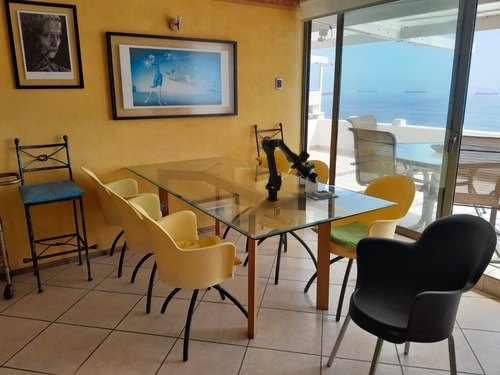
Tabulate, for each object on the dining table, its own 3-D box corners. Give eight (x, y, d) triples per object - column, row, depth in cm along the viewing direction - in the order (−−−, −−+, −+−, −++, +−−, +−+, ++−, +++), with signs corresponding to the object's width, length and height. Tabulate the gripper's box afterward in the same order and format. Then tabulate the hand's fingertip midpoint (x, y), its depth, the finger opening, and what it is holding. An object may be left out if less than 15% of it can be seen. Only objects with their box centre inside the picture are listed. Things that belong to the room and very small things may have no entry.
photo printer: (300, 184, 279) (301, 168, 276) (299, 183, 283) (300, 167, 280) (314, 184, 279) (315, 168, 276) (313, 183, 283) (314, 167, 280)
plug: (305, 191, 260) (305, 177, 257) (313, 190, 263) (314, 176, 260) (309, 193, 256) (310, 178, 253) (317, 192, 259) (318, 178, 256)
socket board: (305, 195, 249) (305, 191, 248) (326, 192, 257) (327, 188, 256) (315, 200, 238) (316, 195, 238) (338, 197, 246) (338, 192, 245)
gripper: (316, 161, 244) (329, 176, 251) (300, 157, 260) (312, 171, 267) (305, 174, 242) (318, 188, 250) (290, 169, 259) (303, 182, 266)
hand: (313, 182), depth 258 cm, fingers closed on plug, 5 cm apart
